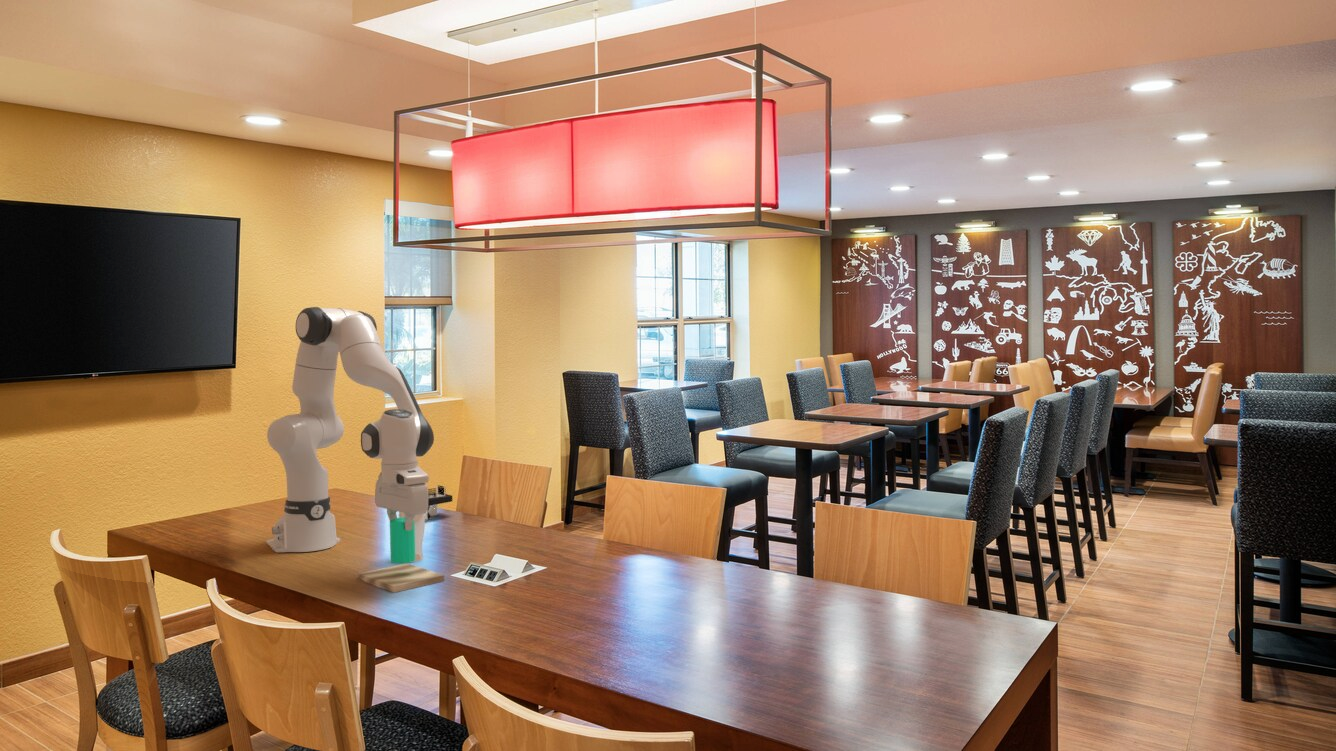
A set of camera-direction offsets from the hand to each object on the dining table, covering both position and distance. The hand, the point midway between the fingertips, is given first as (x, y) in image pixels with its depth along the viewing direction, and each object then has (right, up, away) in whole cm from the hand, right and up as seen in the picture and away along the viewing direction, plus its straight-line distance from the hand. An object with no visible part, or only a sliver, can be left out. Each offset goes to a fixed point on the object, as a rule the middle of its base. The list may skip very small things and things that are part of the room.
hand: (401, 528), depth 221 cm
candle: (0, -9, 0) cm, 9 cm away
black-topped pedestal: (-11, -12, +67) cm, 69 cm away
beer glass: (-3, -13, +19) cm, 23 cm away
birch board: (0, -13, 0) cm, 13 cm away
